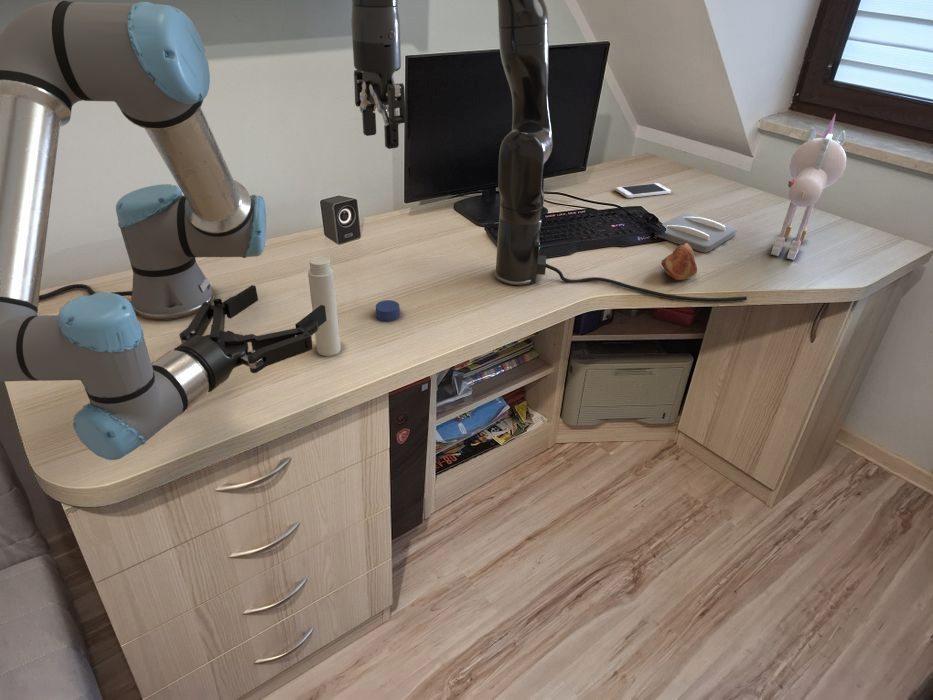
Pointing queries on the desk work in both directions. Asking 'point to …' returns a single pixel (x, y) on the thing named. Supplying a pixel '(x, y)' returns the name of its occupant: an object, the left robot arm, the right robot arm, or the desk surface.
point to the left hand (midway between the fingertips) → (288, 302)
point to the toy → (811, 180)
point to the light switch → (697, 232)
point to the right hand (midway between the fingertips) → (380, 141)
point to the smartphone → (642, 190)
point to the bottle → (324, 304)
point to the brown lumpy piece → (680, 263)
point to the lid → (387, 310)
